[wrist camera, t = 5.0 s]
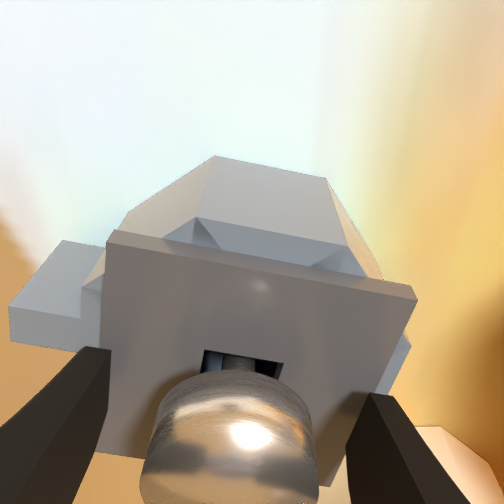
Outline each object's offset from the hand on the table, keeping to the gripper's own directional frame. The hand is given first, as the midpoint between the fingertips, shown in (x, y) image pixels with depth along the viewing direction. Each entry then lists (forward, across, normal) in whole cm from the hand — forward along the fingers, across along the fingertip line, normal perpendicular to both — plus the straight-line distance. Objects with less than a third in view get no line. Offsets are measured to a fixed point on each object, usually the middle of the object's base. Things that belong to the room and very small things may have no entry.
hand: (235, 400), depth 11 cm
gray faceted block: (+6, 0, 0) cm, 6 cm away
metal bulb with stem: (+5, 0, 0) cm, 5 cm away
